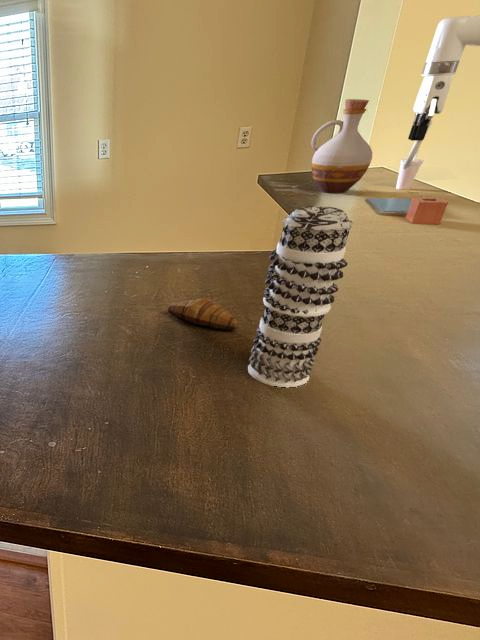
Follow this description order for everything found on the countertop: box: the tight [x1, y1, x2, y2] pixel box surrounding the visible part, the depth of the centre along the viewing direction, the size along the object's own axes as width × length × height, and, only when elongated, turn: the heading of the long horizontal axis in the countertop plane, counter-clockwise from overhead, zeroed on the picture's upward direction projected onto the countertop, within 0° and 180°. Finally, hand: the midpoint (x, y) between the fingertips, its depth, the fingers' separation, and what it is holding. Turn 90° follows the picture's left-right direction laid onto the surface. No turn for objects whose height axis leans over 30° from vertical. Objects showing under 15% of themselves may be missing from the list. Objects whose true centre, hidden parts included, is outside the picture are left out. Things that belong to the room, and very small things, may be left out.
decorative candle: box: [247, 205, 355, 389], centre depth 68 cm, size 9×9×25 cm
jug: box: [311, 98, 373, 194], centre depth 170 cm, size 20×18×30 cm
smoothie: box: [395, 147, 424, 191], centre depth 169 cm, size 6×6×14 cm
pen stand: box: [405, 196, 449, 225], centre depth 136 cm, size 6×6×6 cm
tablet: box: [364, 197, 412, 216], centre depth 151 cm, size 14×20×1 cm
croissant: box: [167, 297, 239, 331], centre depth 90 cm, size 14×7×5 cm, turn 43°
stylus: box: [402, 119, 433, 169], centre depth 146 cm, size 2×2×14 cm
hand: (415, 139), depth 145 cm, fingers closed on stylus, 1 cm apart
